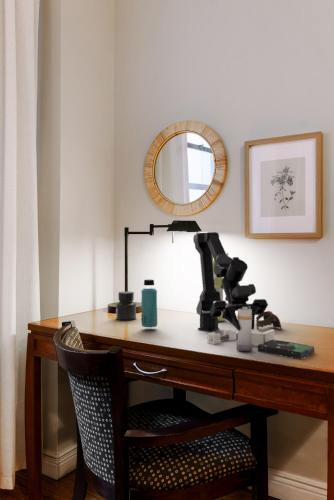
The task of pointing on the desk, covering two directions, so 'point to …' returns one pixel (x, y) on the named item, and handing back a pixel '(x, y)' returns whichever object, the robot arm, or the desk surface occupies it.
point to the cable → (225, 337)
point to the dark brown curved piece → (268, 320)
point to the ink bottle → (126, 306)
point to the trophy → (218, 287)
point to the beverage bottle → (149, 305)
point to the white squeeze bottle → (245, 329)
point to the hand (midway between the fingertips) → (246, 329)
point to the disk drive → (286, 349)
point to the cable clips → (217, 336)
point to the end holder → (262, 337)
